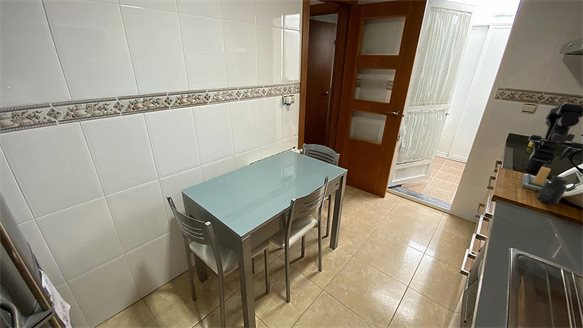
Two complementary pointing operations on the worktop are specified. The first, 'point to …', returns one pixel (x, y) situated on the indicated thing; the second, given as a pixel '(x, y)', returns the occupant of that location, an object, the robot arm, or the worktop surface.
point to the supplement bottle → (553, 190)
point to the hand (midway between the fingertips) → (546, 158)
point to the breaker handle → (541, 177)
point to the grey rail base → (527, 181)
